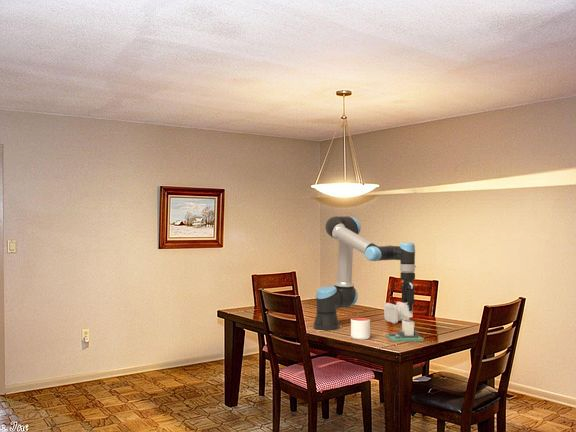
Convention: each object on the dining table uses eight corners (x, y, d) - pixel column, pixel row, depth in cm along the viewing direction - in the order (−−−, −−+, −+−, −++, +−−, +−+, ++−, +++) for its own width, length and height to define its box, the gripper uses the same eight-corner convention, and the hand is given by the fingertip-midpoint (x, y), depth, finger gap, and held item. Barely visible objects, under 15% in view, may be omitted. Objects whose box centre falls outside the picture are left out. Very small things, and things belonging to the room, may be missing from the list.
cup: (368, 336, 299) (368, 317, 299) (371, 340, 289) (371, 320, 289) (349, 336, 299) (349, 317, 299) (352, 340, 289) (352, 321, 289)
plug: (404, 337, 291) (404, 321, 291) (402, 335, 295) (402, 319, 295) (415, 337, 291) (415, 321, 291) (412, 335, 295) (412, 319, 295)
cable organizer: (410, 324, 336) (410, 304, 336) (394, 324, 333) (394, 305, 333) (398, 319, 350) (398, 301, 351) (383, 320, 347) (383, 302, 348)
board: (393, 341, 285) (393, 333, 285) (385, 336, 299) (385, 328, 299) (423, 341, 287) (423, 332, 287) (414, 335, 301) (414, 327, 301)
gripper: (420, 273, 285) (420, 319, 284) (408, 270, 303) (408, 313, 303) (406, 273, 284) (406, 319, 283) (395, 270, 302) (395, 313, 302)
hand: (407, 316), depth 293 cm, fingers open, 6 cm apart
